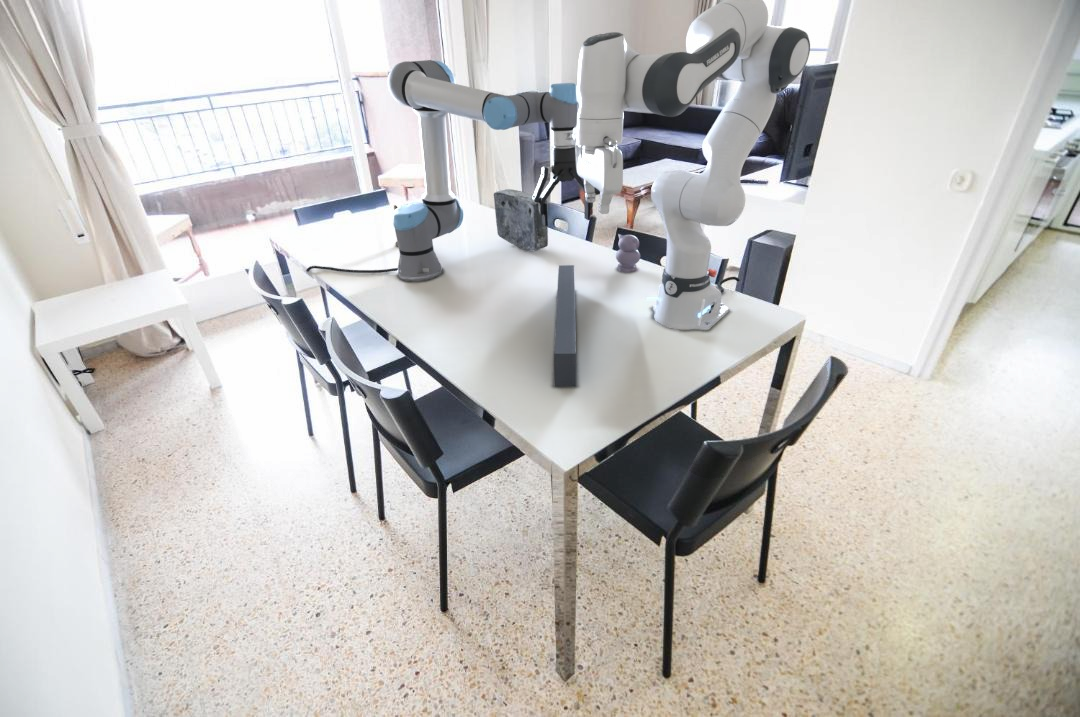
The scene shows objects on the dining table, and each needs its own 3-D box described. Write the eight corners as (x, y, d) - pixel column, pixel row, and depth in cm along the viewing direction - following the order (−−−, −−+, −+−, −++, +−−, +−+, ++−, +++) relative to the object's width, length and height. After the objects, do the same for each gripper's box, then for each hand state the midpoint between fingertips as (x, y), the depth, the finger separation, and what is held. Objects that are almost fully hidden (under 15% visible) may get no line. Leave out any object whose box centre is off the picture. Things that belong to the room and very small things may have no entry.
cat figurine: (643, 268, 173) (646, 234, 167) (631, 275, 168) (633, 240, 162) (623, 263, 178) (625, 230, 172) (610, 269, 173) (611, 235, 167)
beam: (559, 291, 159) (558, 265, 155) (574, 291, 159) (574, 265, 154) (554, 386, 114) (553, 353, 109) (575, 386, 113) (575, 353, 109)
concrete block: (553, 252, 189) (552, 199, 179) (534, 258, 185) (532, 204, 175) (514, 236, 208) (511, 187, 198) (496, 241, 204) (492, 191, 193)
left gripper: (526, 152, 132) (530, 231, 143) (611, 143, 139) (609, 219, 150) (518, 148, 139) (523, 224, 150) (600, 140, 145) (599, 213, 156)
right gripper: (634, 140, 87) (628, 219, 94) (599, 127, 104) (597, 195, 111) (599, 142, 86) (596, 221, 93) (570, 128, 103) (569, 197, 110)
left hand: (566, 222), depth 150 cm, fingers open, 13 cm apart
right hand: (596, 207), depth 102 cm, fingers open, 8 cm apart
